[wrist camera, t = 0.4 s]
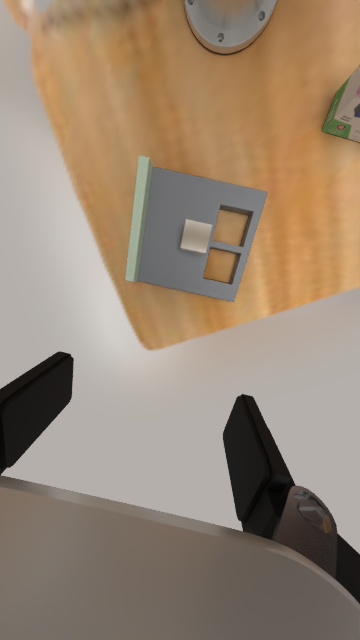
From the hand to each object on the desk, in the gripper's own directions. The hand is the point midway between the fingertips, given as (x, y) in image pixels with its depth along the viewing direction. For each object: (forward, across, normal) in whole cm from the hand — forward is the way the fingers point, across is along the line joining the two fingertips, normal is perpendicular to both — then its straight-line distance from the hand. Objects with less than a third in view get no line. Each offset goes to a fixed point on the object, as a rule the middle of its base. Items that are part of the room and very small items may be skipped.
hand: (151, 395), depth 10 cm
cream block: (+26, 0, -11) cm, 28 cm away
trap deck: (+28, 0, -11) cm, 30 cm away
